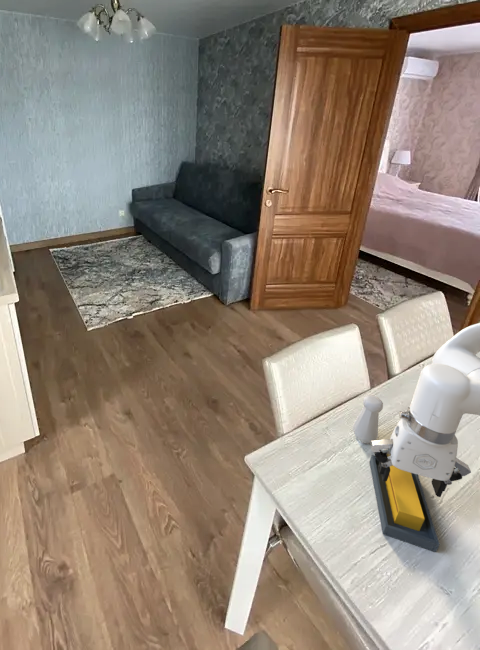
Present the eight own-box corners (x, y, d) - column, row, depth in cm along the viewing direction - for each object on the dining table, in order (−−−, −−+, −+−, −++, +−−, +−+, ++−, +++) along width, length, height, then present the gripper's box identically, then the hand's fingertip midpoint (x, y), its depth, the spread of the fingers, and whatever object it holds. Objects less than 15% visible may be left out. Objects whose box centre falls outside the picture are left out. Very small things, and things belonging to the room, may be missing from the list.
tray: (412, 474, 81) (415, 466, 80) (435, 552, 67) (439, 544, 66) (369, 461, 84) (371, 454, 83) (382, 534, 69) (385, 526, 69)
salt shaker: (378, 436, 90) (390, 399, 85) (372, 451, 86) (384, 413, 81) (354, 423, 94) (364, 387, 89) (347, 437, 90) (358, 400, 85)
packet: (419, 531, 70) (424, 519, 68) (393, 523, 71) (398, 510, 69) (405, 479, 79) (409, 467, 78) (383, 473, 81) (387, 461, 79)
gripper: (383, 427, 66) (366, 486, 72) (494, 454, 60) (465, 515, 67) (376, 398, 72) (360, 454, 79) (475, 419, 67) (450, 478, 73)
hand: (408, 482), depth 73 cm, fingers open, 9 cm apart
